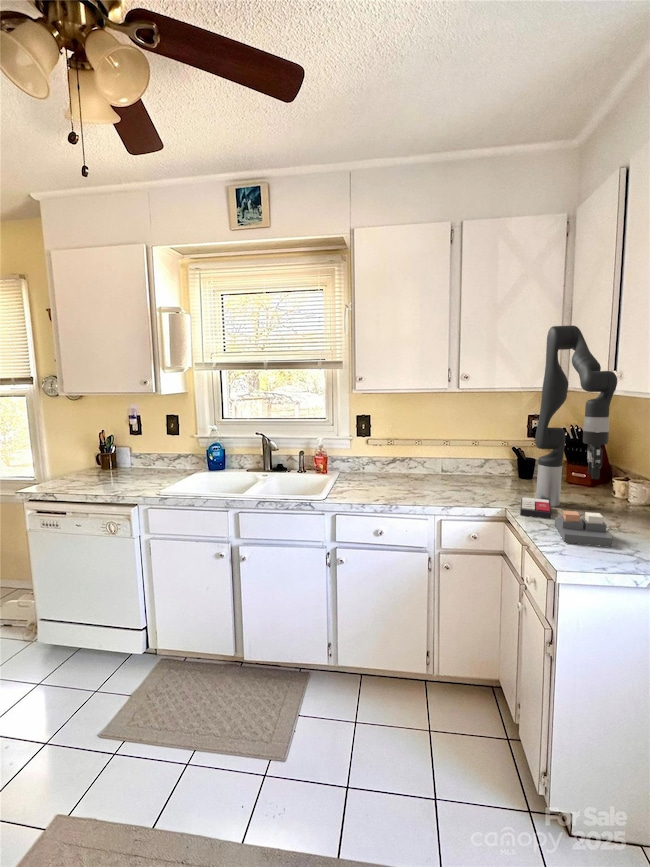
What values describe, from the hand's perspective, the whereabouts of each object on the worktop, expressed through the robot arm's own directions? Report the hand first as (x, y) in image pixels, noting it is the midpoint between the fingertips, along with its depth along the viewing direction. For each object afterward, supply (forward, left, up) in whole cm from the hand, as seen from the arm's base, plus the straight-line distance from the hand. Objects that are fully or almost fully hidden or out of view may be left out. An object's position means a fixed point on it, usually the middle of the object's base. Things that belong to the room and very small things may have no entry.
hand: (593, 476), depth 154 cm
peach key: (+2, -6, -16) cm, 17 cm away
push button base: (+2, -3, -21) cm, 21 cm away
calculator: (-22, -14, -22) cm, 34 cm away
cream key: (+2, +1, -16) cm, 16 cm away
